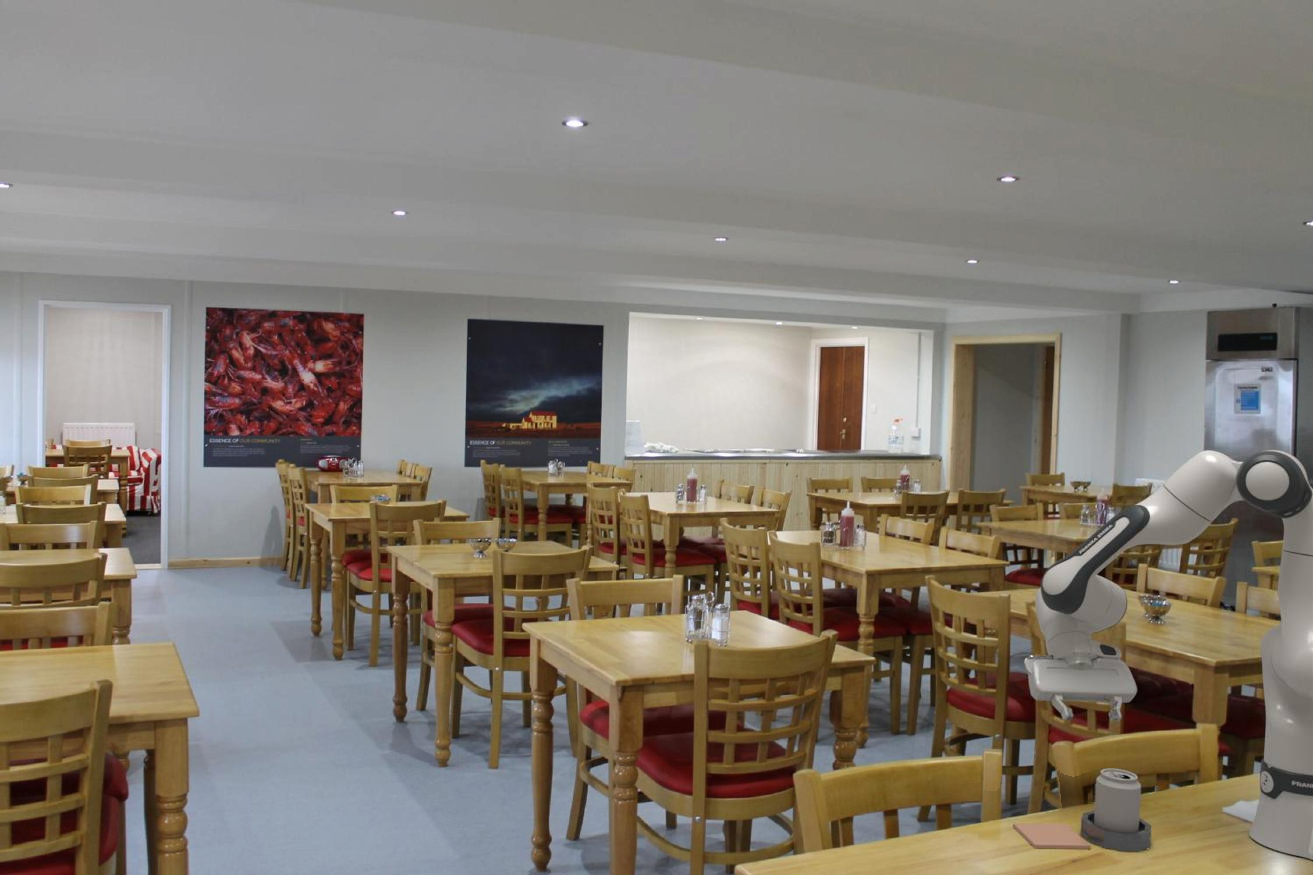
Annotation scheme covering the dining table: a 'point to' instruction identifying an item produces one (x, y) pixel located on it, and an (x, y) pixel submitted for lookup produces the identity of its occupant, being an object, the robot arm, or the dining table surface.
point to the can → (1117, 800)
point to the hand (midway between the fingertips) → (1092, 719)
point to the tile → (1051, 836)
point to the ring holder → (1115, 835)
